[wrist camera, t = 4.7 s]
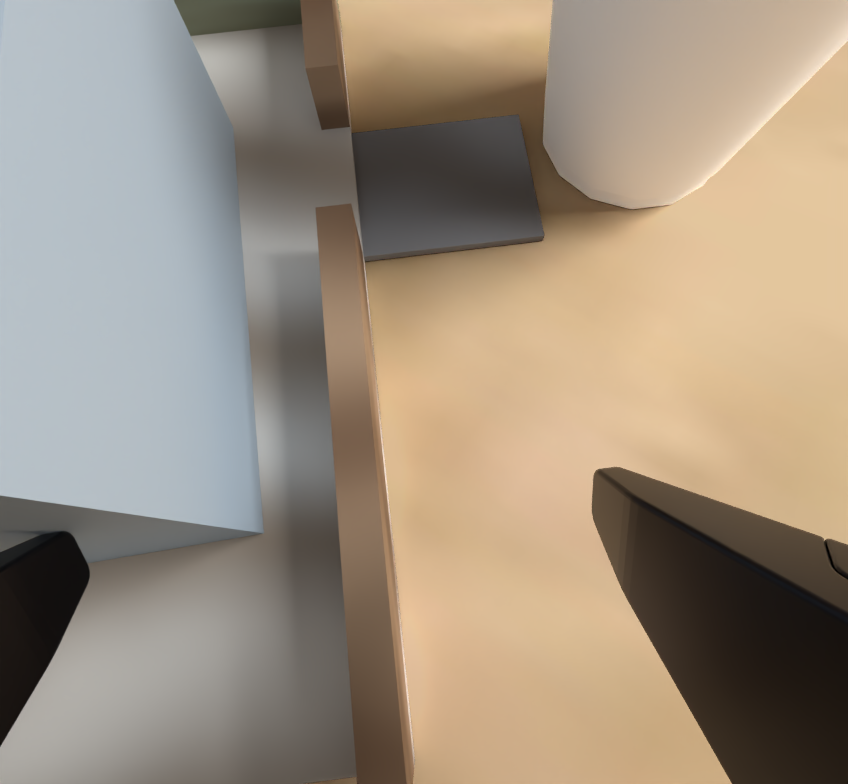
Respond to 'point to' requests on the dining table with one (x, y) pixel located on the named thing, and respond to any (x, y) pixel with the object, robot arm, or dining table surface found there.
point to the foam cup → (673, 87)
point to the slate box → (120, 286)
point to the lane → (282, 451)
